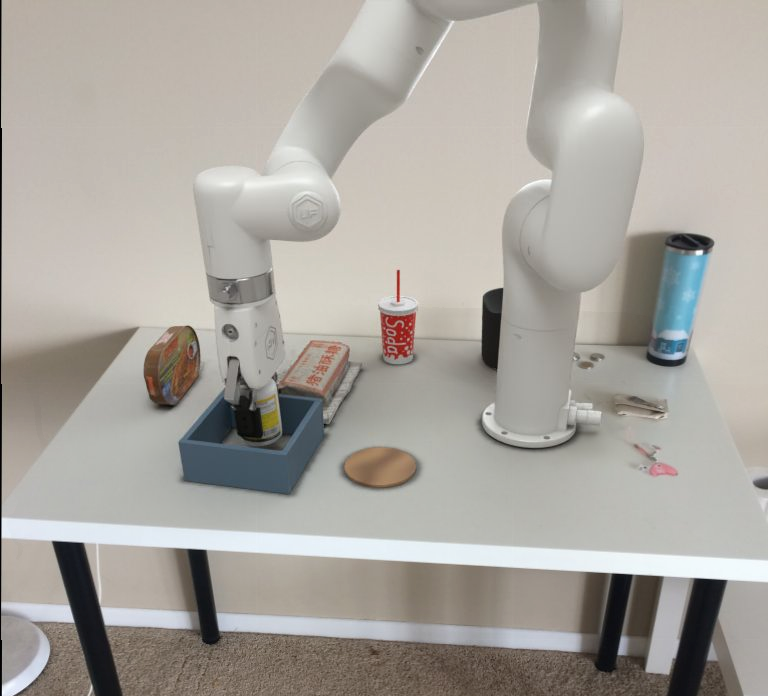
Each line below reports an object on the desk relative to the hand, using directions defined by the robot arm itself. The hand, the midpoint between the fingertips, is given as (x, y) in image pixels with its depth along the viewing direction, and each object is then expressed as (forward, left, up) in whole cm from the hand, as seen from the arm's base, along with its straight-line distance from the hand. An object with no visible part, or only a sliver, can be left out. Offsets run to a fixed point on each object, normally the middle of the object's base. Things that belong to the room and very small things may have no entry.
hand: (259, 422), depth 109 cm
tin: (+19, -15, -5) cm, 24 cm away
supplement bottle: (0, 0, -2) cm, 2 cm away
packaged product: (-1, -18, -5) cm, 19 cm away
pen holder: (-27, -36, -5) cm, 45 cm away
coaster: (-15, -1, -5) cm, 16 cm away
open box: (+1, 0, -5) cm, 5 cm away
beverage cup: (-10, -33, -5) cm, 35 cm away
